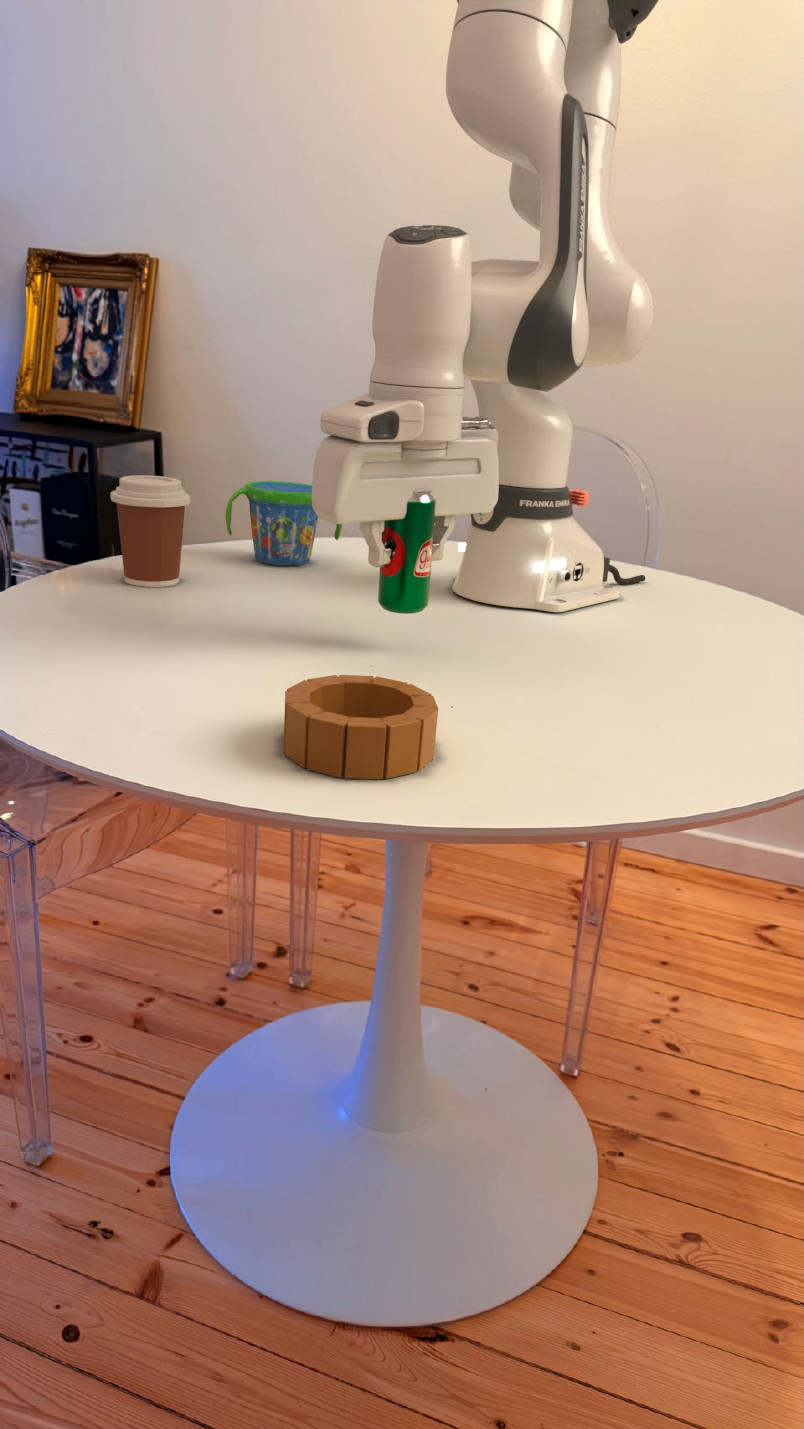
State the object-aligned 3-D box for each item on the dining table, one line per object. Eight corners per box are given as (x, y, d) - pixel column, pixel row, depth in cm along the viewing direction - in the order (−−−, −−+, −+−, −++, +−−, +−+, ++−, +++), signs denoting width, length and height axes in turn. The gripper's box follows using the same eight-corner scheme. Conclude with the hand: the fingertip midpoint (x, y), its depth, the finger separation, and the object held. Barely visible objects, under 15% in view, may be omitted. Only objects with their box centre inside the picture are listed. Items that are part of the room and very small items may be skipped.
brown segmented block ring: (376, 713, 82) (379, 668, 81) (462, 762, 74) (467, 711, 72) (256, 735, 76) (257, 686, 74) (335, 791, 67) (338, 736, 66)
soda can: (423, 617, 96) (432, 493, 92) (372, 611, 97) (379, 488, 93) (431, 604, 101) (441, 485, 97) (383, 599, 102) (390, 481, 97)
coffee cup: (97, 583, 116) (94, 479, 112) (135, 569, 124) (133, 471, 120) (169, 593, 114) (169, 488, 110) (202, 578, 123) (203, 479, 119)
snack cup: (338, 556, 141) (342, 484, 138) (341, 573, 131) (346, 495, 128) (227, 550, 139) (228, 477, 136) (222, 566, 129) (223, 488, 126)
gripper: (477, 413, 101) (465, 547, 106) (304, 413, 89) (300, 564, 94) (520, 420, 96) (505, 560, 101) (343, 421, 84) (337, 580, 89)
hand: (405, 562), depth 97 cm, fingers closed on soda can, 5 cm apart
